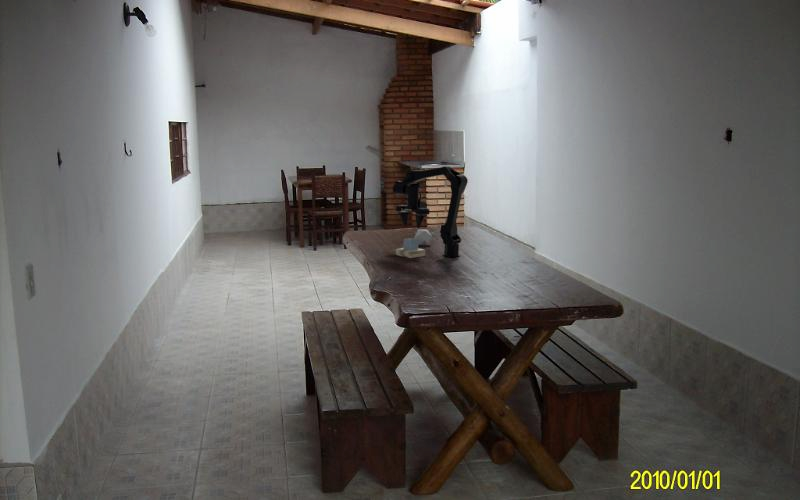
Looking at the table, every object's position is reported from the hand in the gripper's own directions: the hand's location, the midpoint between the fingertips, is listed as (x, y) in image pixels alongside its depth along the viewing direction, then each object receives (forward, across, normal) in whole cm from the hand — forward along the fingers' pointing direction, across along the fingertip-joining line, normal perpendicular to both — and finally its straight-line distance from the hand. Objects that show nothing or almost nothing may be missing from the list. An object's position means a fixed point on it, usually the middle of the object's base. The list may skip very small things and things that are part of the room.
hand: (412, 227), depth 362 cm
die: (+12, +10, -18) cm, 24 cm away
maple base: (+12, -9, +9) cm, 17 cm away
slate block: (+9, -9, +9) cm, 16 cm away
